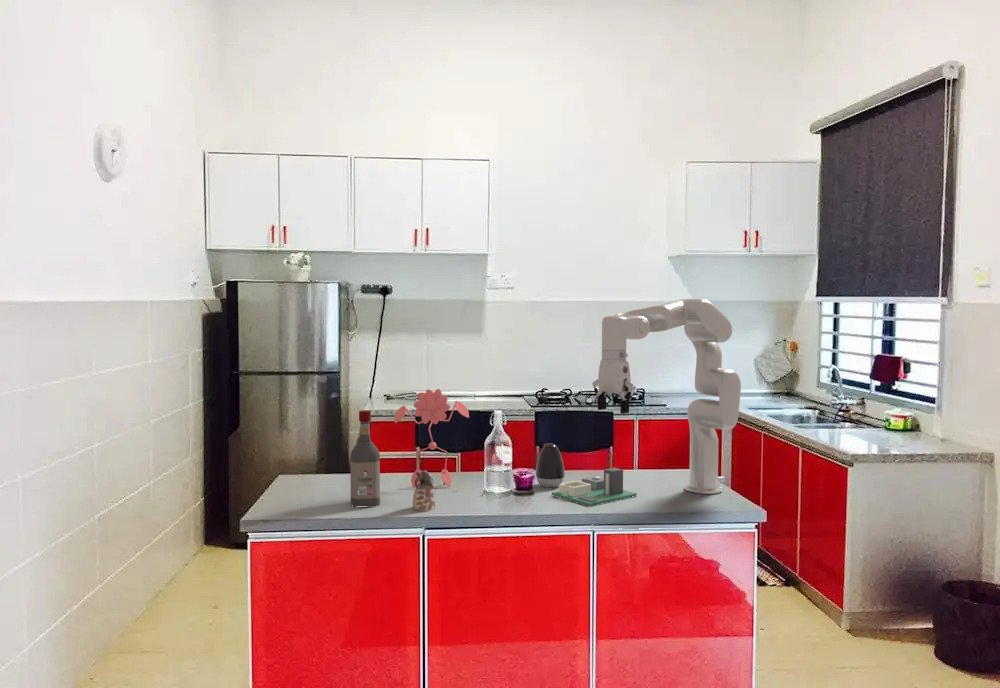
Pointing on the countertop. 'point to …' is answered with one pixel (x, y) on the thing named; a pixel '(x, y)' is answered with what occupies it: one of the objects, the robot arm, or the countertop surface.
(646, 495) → the countertop surface
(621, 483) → the plug
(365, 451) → the liquor
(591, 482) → the grey flat block
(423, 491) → the figurine
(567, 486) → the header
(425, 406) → the figurine
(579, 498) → the board
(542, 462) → the dark egg-shaped speaker
